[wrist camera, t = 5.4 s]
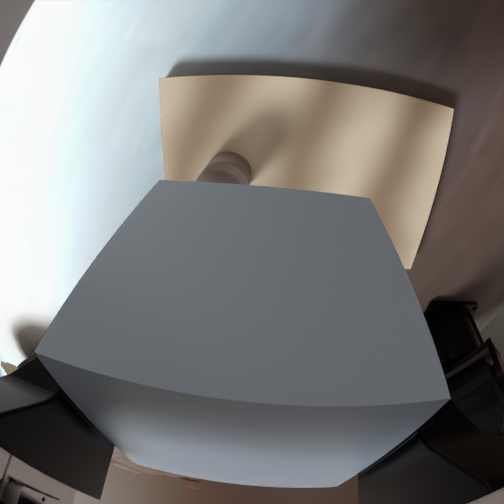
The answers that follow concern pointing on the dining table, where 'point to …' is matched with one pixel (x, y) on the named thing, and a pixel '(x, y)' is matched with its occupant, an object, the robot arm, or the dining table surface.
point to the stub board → (310, 142)
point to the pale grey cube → (248, 337)
